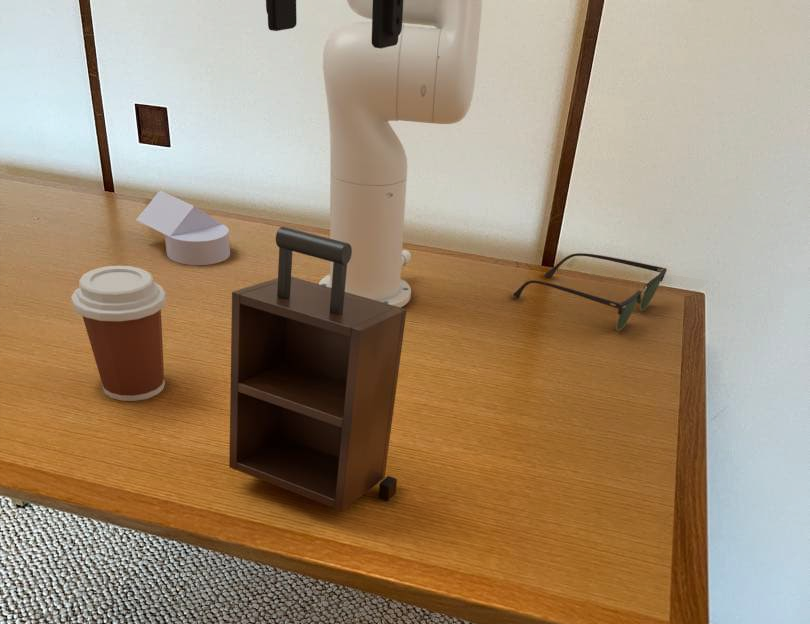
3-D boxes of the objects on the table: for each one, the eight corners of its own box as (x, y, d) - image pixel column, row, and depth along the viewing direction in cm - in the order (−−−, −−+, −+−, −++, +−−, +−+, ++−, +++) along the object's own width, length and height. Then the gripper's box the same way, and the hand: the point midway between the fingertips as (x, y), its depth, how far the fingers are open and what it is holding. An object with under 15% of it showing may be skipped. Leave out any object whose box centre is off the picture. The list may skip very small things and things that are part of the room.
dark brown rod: (267, 445, 81) (267, 431, 80) (396, 492, 76) (397, 478, 75) (258, 452, 80) (257, 438, 79) (388, 501, 75) (388, 487, 74)
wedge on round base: (139, 243, 120) (190, 270, 114) (132, 195, 116) (185, 221, 109) (190, 230, 125) (242, 255, 119) (186, 185, 121) (239, 208, 115)
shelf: (290, 210, 68) (232, 221, 62) (416, 242, 65) (367, 257, 58) (278, 439, 80) (228, 467, 74) (385, 478, 76) (342, 511, 70)
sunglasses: (553, 270, 122) (560, 237, 119) (661, 302, 116) (670, 267, 112) (501, 304, 111) (507, 268, 108) (616, 341, 105) (625, 304, 102)
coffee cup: (77, 378, 89) (53, 271, 81) (156, 359, 93) (141, 255, 86) (109, 416, 83) (87, 304, 76) (191, 393, 88) (179, 285, 80)
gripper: (474, -247, 54) (448, 47, 65) (261, -254, 60) (271, 19, 71) (423, -265, 49) (405, 59, 60) (195, -270, 55) (216, 27, 66)
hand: (332, 37), depth 65 cm, fingers open, 9 cm apart
